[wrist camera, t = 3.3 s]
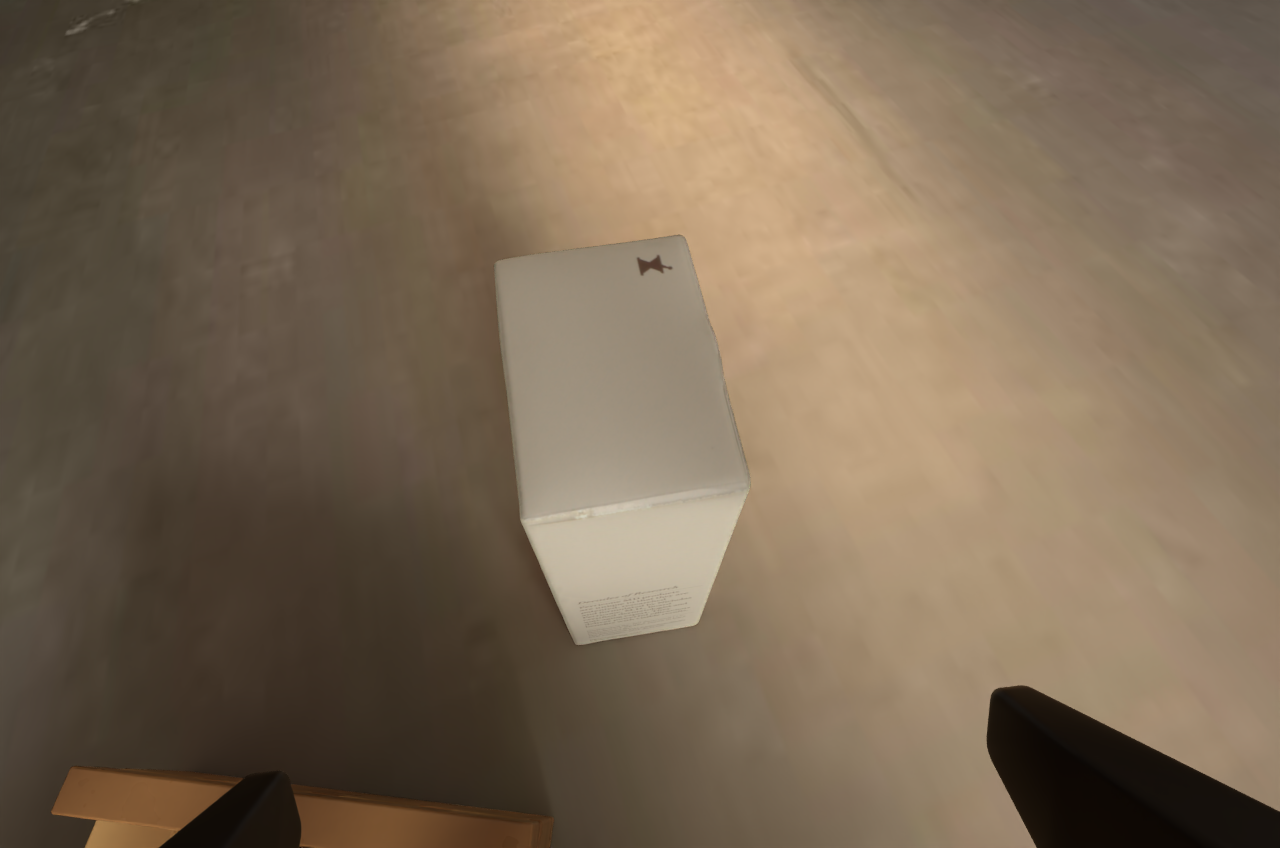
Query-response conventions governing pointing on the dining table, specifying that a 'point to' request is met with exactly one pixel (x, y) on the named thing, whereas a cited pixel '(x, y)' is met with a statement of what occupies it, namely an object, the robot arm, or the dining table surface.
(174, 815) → the rack
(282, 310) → the dining table surface
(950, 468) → the dining table surface
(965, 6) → the dining table surface
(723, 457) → the cosmetic box
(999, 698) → the robot arm
